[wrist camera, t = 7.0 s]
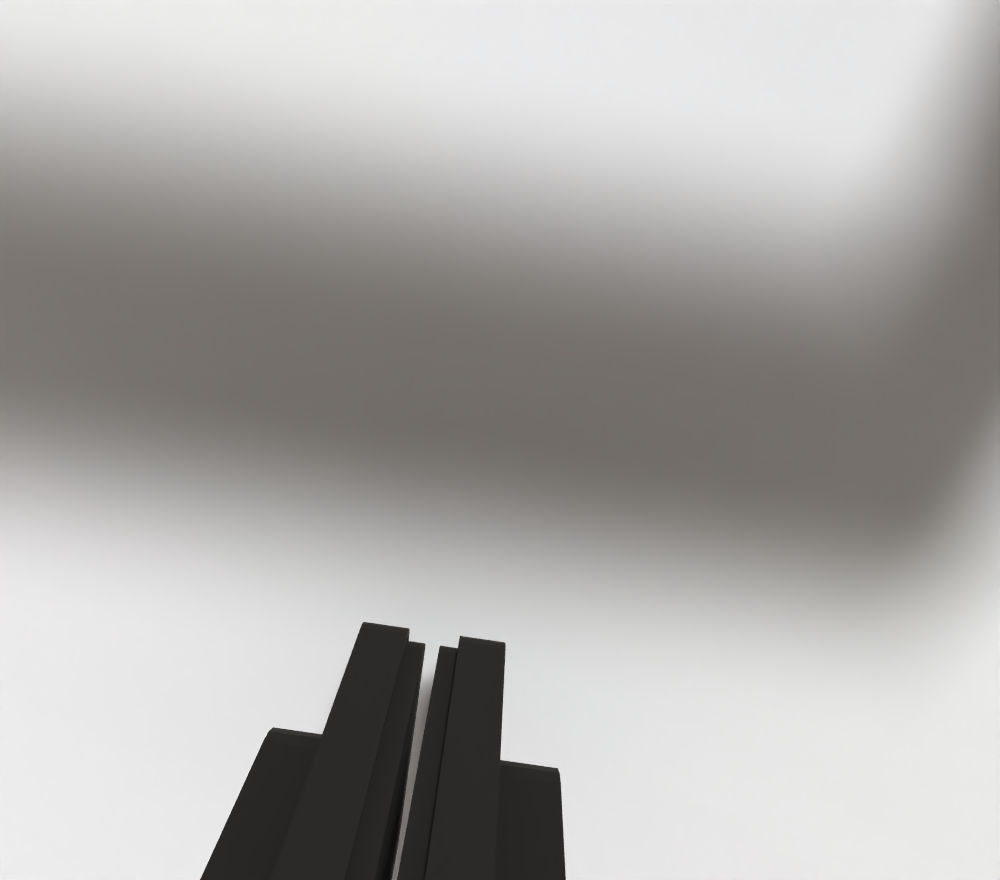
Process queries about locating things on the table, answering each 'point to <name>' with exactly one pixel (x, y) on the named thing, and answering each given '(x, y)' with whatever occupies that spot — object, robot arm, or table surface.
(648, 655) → the table surface
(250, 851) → the robot arm
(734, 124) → the table surface
